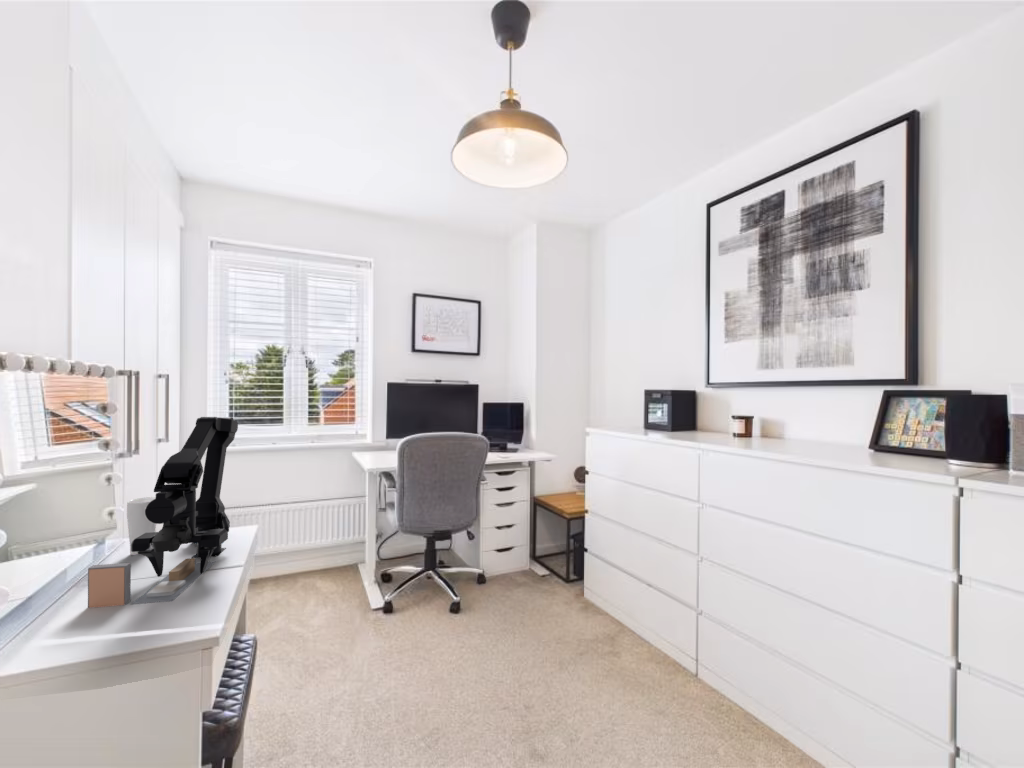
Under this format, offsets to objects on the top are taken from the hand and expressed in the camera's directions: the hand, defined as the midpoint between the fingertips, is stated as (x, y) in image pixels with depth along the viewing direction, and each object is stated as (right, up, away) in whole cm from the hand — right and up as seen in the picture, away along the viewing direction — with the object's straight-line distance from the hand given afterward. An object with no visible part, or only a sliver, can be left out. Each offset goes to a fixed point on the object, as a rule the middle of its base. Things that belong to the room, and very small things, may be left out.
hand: (181, 574), depth 110 cm
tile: (-6, -2, -13) cm, 14 cm away
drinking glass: (-24, -1, +17) cm, 29 cm away
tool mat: (0, -1, -2) cm, 2 cm away
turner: (0, -1, -2) cm, 2 cm away
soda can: (-12, -1, +26) cm, 29 cm away
